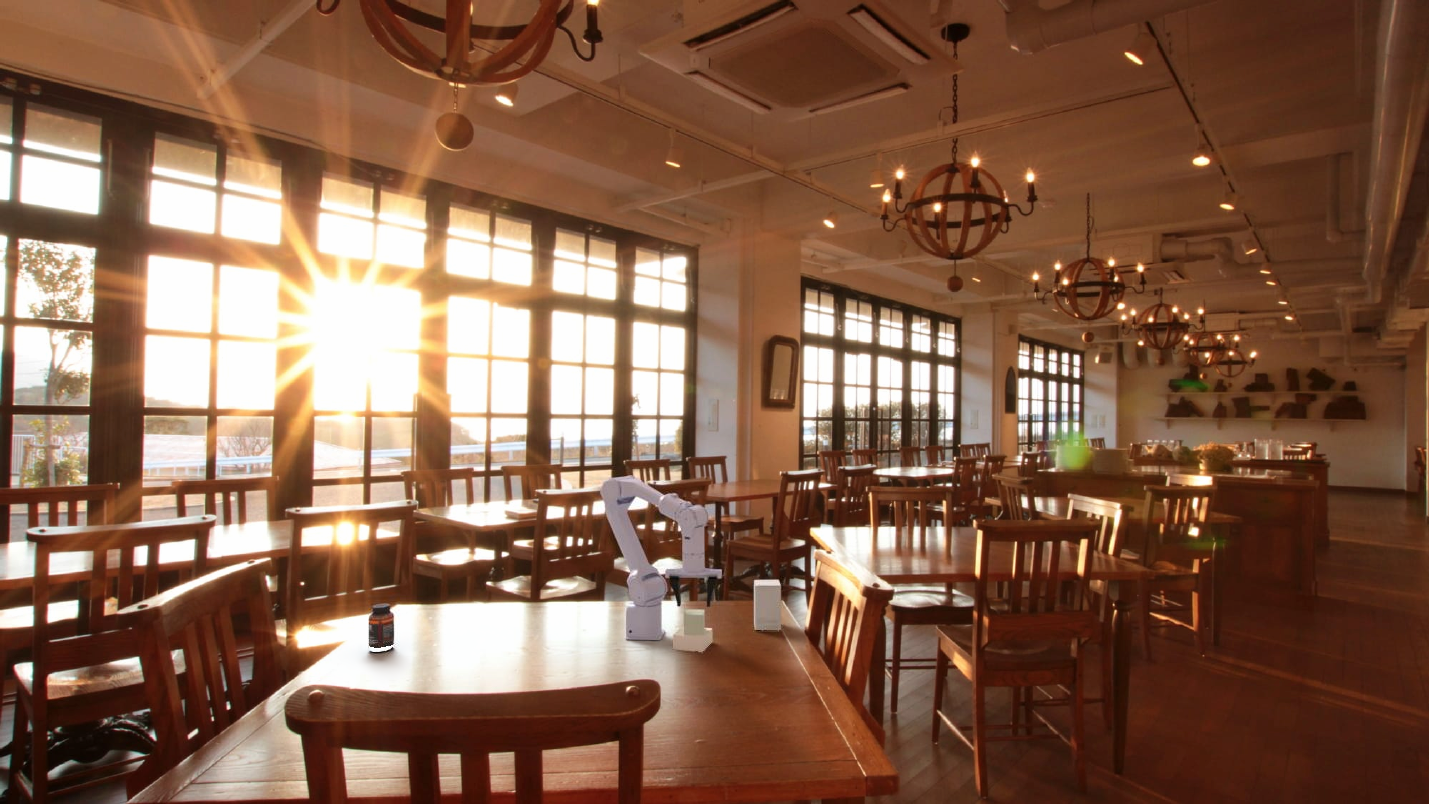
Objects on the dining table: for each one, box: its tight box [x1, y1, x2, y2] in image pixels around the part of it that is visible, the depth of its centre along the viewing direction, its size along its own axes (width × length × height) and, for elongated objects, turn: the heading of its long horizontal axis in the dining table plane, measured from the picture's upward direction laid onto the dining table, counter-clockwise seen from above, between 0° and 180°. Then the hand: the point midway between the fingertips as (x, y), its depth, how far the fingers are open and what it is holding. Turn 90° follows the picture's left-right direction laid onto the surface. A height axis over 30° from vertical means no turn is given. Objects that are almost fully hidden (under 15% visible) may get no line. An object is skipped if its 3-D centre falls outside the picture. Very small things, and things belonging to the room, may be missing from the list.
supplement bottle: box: [368, 603, 395, 648], centre depth 182 cm, size 6×6×11 cm
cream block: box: [672, 625, 713, 653], centre depth 185 cm, size 8×8×4 cm
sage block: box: [683, 608, 706, 635], centre depth 185 cm, size 5×5×5 cm
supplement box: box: [753, 579, 782, 632], centre depth 200 cm, size 7×7×13 cm
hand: (693, 605), depth 185 cm, fingers open, 7 cm apart
